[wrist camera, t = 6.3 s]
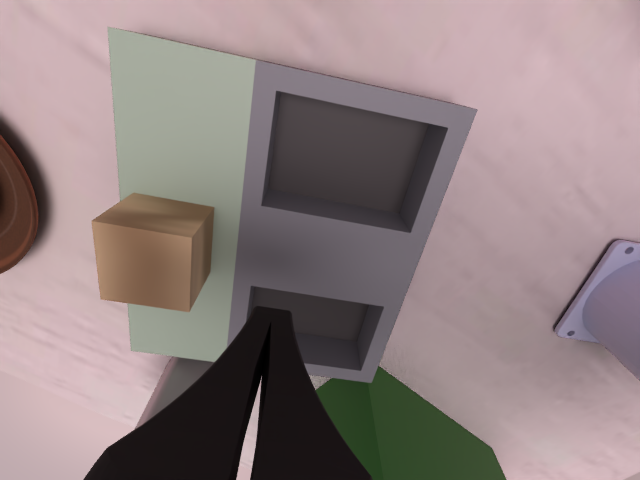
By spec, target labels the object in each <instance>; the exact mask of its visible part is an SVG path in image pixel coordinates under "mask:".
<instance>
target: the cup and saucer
mask: <svg viewBox="0 0 640 480" xmlns="http://www.w3.org/2000/svg"><path fill="white" fill-rule="evenodd" d="M37 228H38V207H37V201H36V197H35V194H34V190H33V187H32V185H31V182H30V180H29V177H28V175H27V173H26V171H25V169H24V168H23V166H22V164H21V162H20V161H19V159H18V157H17V156H16V155H15V153H14V152H13V150H12V149H11V147H10V146H9V145H8V144H7V142H6V141H5V140H4V139H3V137H2V136H1V135H0V274H1V273H3V272H5V271H7V270H9V269H10V268H12V267H13V266H14V265H16V264H17V263H18V262H19V261H20V260H21V259H22V258H23V257H24V256H25V255H26V253H27V252H28V251H29V249H30V247H31V246H32V244H33V242H34V239H35V236H36V233H37Z"/></svg>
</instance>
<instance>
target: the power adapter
mask: <svg viewBox="0 0 640 480" xmlns="http://www.w3.org/2000/svg"><path fill="white" fill-rule="evenodd" d="M213 363H214V362H211V361H203V360H196V359H189V358H181V357H174V356H173V357H172V358H171V360H170V362H169V363H168V365H167V366H166V368H165V370H164V372H163V374H162V376H161V378H160V380H159V382H158V384H157V386H156V388H155V390H154V392H153V394H152V396H151V398H150V400H149V402H148V404H147V406H146V408H145V410H144V412H143V414H142V416H141V418H140V420H139V422H138V424H137V426H136V428H138V427H139V426H141V425H142V424H144V423H145V422H146V421H148V420H149V419H150V418H152V417H153V416H154V415H156V414H157V413H158V412H160V411H161V410H162V409H164V408H165V407H166V406H167V405H169V404H170V403H171V402H173V401H174V400H175V399H176V398H177V397H179V396H180V395H181V394H182V393H183V392H184V391H185V390H187V389H188V388H189V387H190V386H191V385H192V384H193V383H194V382H195V381H197V380H198V379H199V378H200V377H201V376H202V375H203V374H204V373H205V372H206V371H207V370H208V369H209V368H210V367H211V366H212V364H213ZM136 428H135V429H136Z"/></svg>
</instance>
